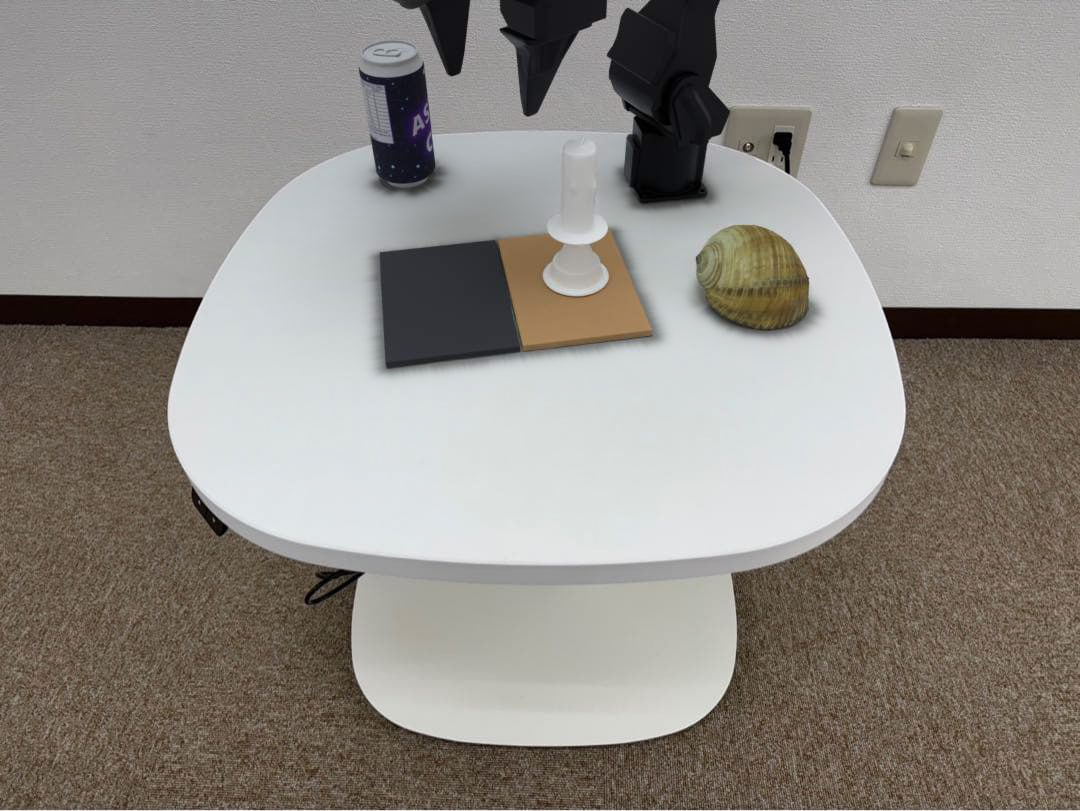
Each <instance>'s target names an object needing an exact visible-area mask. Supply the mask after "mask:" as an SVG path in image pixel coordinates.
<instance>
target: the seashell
mask: <svg viewBox="0 0 1080 811" xmlns="http://www.w3.org/2000/svg"><path fill="white" fill-rule="evenodd" d="M695 266H696V268H695V275H696V279H697V281H698V284H699V285H700V286H701V287H702V288H703V289H704V290H705V292H706V293H705V296H704V297H705V299H706V301H707V302H708V304H709V306H710V307H711V308H712V309H713V310H714V311H715V312H717V313H718V314H719V315H721V317H722V318H724V319H728V320H730V321H731V322H733V323H736V324H740V325H742V326H745V327H749V328H751V329H753V330H755V329H756V330H767V331H770V330H778V329H781V328H785V327H792V326H793V325H796V324H798V323H799V322H800V321H801V320H802V319H804V318H805V316H806V314H808V310H810V309H809V308H810V307H809V305H810V297H809V296H810V277H809V276H808V273H807V270H806V267H805V266H804V264H803V262H802V261H801V257H800V256H799V254H798V253H797V252H796V250H795V248H794V247H793V246H792V243H790V242H788V240H787V239H785V238H784V237H783V236H782V235H780V234H778V233H777V232H775V231H774V230H771V229H769V228H767V227H764V226H760V225H756V224H733V225H730V226H727V227H724V228H722V229H720V230H718V231H717V232H716V233H715V234H713V235H712V236H710V238H708V240H707V241H706V243H705V244H704V245H703V247H702V249H701V250H700V251H699V253H698V254H697V255H696V256H695Z"/></svg>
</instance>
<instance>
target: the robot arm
mask: <svg viewBox="0 0 1080 811" xmlns="http://www.w3.org/2000/svg"><path fill="white" fill-rule="evenodd" d="M393 2H396V3H398V4H399V5H400V6H401V8H404V9H407V10H415V9H419V10H420V13H421V15H422V16H423V19H424V21H425V23H426V24H425V25H426V26H427V28H428V31H429V34H430V35H431V38H432V41H433V43H434V45H435V48H436V51H437V53H438V56H439V58H440V61H441V63H442V66H443V69H444V70H445V73H446V74H447V76H449V77H455V76H458V75H460V74H461V73H462V68H463V63H464V60H465V59H464V58H465V52H466V43H467V34H468V26H469V25H468V24H469V16H470V7H471V0H393ZM720 2H721V0H648V2H647V3H645V4H644V6H643V7H642V8H641V9H639V11H636V10H634V9H632V8H630V7H626V8H624V10H623V12H622V14H621V16H620V19H619V24H618V28H617V29H618V30H617V33H616V37H615V39H614V41H613V43H612V46H611V47H610V49H609V50H608V51H607V53H606V57H607V58H609V60H610V63H609V68H608V80H609V81H610V83H611V86H612V90H613V91H614V92H615V94H617V96H618V97H619V98H620V100H621V103H622V106H623V109H624V110H625V111H626V112H630V113H631V114H633V115H634V116H633V118H632V131H631V133H628V134H627V135H626V138H625V151H624V163H623V164H624V165H623V176H624V177H625V180H626V181H627V185H628V187H630V189H631V190H633V192H634V194H635V197H636V199H637V201H638V202H639V203H640V204H654V203H655V204H656V203H664V202H673V201H683V200H693V199H703V198H707V196H708V193H709V192H708V188H707V187H706V186H705V184H704V182H703V178H704V171H705V165H706V164H705V163H706V158H707V150H708V144H709V142H710V140H712V138H715V137H717V136H720V135H722V133H723V130H724V129H725V126H726V124H727V121H728V119H729V117H730V114H731V110H730V108H729V107H728V106H727V105H726V104H725V103H724V102H723V101H722V100H721V99H720V98H719V96H717V94H716V92H714V91H713V90H712V89H711V88H710V84H711V80H712V77H713V73H714V70H715V66H716V63H717V59H718V49H717V48H718V46H717V29H716V28H717V27H716V14H717V10H718V7H719V5H720ZM499 12H500V14H501V16H502V18H503V20H504V22H505V24H506V25H505V26H502V27H500V28H498V30H499V32H500V33H501V34H502V35H503V36H504V37H505V39H507V40H508V42H510V43H511V45H512V46H513V47H514V48H515V56H516V64H517V65H516V67H517V76H518V88H519V97H520V98H519V99H520V104H521V108H522V114H523V116H525V117H526V118H529V117H533V116H535V115H537V114H538V113H539V111H540V108H541V107H542V105H543V102H544V100H545V98H546V96H547V94H548V92H549V90H550V87H551V85H552V83H553V81H554V79H555V77H556V75H557V72H558V70H559V68H560V66H561V64H562V62H563V60H564V58H565V56H566V54H567V53H568V52H569V49H570V48H571V46H572V44H573V43H574V41H575V39H576V38H577V37H578V34H579V33H580V31H583V30H586V29H589V28H591V27H592V26H593V24H594V23H597V22H599V21H603V20H605V19H607V14H608V0H499Z"/></svg>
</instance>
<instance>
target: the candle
mask: <svg viewBox="0 0 1080 811" xmlns="http://www.w3.org/2000/svg"><path fill="white" fill-rule="evenodd" d="M585 138H586V137H585V136H583V137H582V138H581V139H579V138H578V139H569V140H567V141H566V142H565V143H564V144H563V147H562V152H561V172H560V174H561V179H560V181H561V183H560V185H561V186H560V212H559V213H557V214H555V215H553V216H552V217H551V218H549V220H548V221H547V223H546V230H547V234H550V236H551V237H553V238H554V239H555V240H557V241H559V242H562V243H564V245H563V247H562V249H561V251H559V252H558V253H557V254H556V255H555V256H554V258H553V261H552V262H551V263H549V264H548V265H547V266H546V268H545V269H544V271H543V280H544V282H545V284H546V285H547V286H548V287H549V288H550V289H551V290H553V291H555V292H557V293H559V294H562V295H566V296H587V295H591V294H594V293H596V292H598V291H600V290H601V289H602V288H603V287H604V286H605V285H606V284H607V282H608V279H609V273H608V271H607V269H606V267H605V266H604V265H603V264H602V263H600V259H599V257H598V255H597V254H596V253H594V252H593V251H592V249H591V247H590V244H591V243H594V242H596V241H598V240H600V239H602V238H603V237H604V236H605V235H606V233H607V231H608V228H609V225H608V222H607V221H606V219H604V217H603V216H601V215H600V214H597V213H596V211H595V210H596V191H597V178H598V173H599V170H598V169H599V168H598V154H597V153H598V149H597V144H596V142H595V141H594V140H593V139H585Z"/></svg>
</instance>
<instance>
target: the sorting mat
mask: <svg viewBox="0 0 1080 811" xmlns="http://www.w3.org/2000/svg"><path fill="white" fill-rule="evenodd" d="M563 245H564V243H562V242H559V241H557V240H555V239H554V238H553V237H551V236H550V234H549V233H546V234H537V235H527V236H518V237H517V236H516V237H508V238H507V237H506V238H500V239H499V238H498V239H497V242H496V239H490V240H489V239H488V240H482V241H481V240H480V241H471V242H463V243H461V242H460V243H453V244H444V245H443V244H442V245H433V246H425V247H416V248H406V249H405V248H404V249H397V250H387V251H380V252H379V269H380V271H379V272H380V286H381V288H380V289H381V301H382V302H381V305H382V323H383V342H384V358H385V360H384V362H385V367H386V368H387V369H390V368H391V369H392V368H396V367H397V368H398V367H406V366H415V365H423V364H430V363H439V362H447V361H454V360H456V361H457V360H462V359H472V358H478V357H479V358H480V357H488V356H497V355H505V354H512V353H520V352H521V348H522V351H523V352H529V351H537V350H538V351H539V350H546V349H554V348H561V347H569V346H577V345H583V344H584V345H586V344H587V345H588V344H594V343H603V342H611V341H618V340H626V339H635V338H643V337H650V336H652V334H653V329H652V326H651V324H650V321H649V319H648V316H647V313H646V311H645V309H644V306H643V304H642V302H641V299H640V297H639V295H638V292H637V290H636V287H635V284H634V282H633V280H632V278H631V276H630V273H629V271H628V269H627V265H626V264H625V261H624V258H623V256H622V253H621V252H620V248H619V246H618V244H617V242H616V239H615V237H614V235H613V233H612V230H611V227H608V231H607V233H606V235H605V236H604V237H603V238H602V239H600V240H598V241H596V242H594V243H591V244H590V247H591V249H592V251H593V252H594V253H596V254H597V255H598V257H599V259H600V263H602V264H603V265H604V266H605V267H606V269H607V271H608V273H609V279H608V282H607V284H606V285H605V286H604V287H603V288H602V289H601V290H600V291H598V292H596V293H594V294H591V295H587V296H566V295H562V294H559V293H557V292H555V291H553V290H551V289H550V288H549V287H548V286H547V285H546V284H545V282H544V280H543V271H544V269H545V268H546V266H547V265H548V264H549V263H551V262H552V261H553V258H554V256H555V255H556V254H557V253H558V252H559V251H561V249H562V247H563ZM511 305H512V306H511ZM519 340H520V341H519Z"/></svg>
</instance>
